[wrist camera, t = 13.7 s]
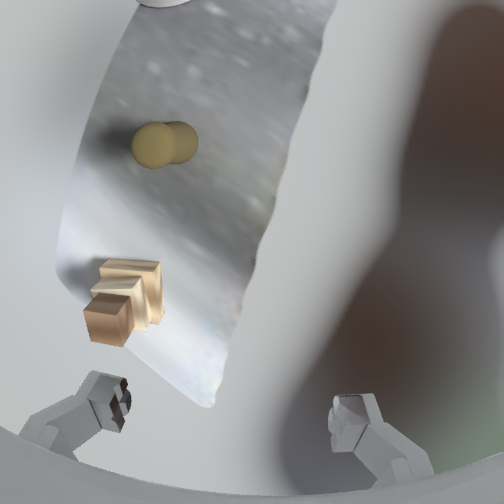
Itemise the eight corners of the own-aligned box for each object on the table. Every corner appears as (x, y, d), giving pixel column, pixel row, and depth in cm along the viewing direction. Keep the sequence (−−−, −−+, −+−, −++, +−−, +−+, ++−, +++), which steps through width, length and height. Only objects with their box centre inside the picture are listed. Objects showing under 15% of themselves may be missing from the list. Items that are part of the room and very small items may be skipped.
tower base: (109, 257, 47) (99, 267, 43) (161, 261, 47) (153, 272, 43) (117, 305, 50) (108, 318, 46) (165, 311, 50) (158, 324, 46)
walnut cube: (99, 292, 40) (83, 310, 35) (130, 296, 40) (116, 315, 35) (105, 321, 42) (90, 341, 37) (135, 326, 42) (122, 347, 37)
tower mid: (102, 277, 44) (90, 289, 40) (142, 275, 43) (132, 288, 40) (113, 316, 46) (104, 330, 43) (152, 316, 46) (144, 331, 42)
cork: (149, 154, 41) (115, 162, 30) (166, 115, 39) (135, 109, 28) (187, 171, 41) (163, 183, 31) (205, 131, 39) (185, 129, 29)
